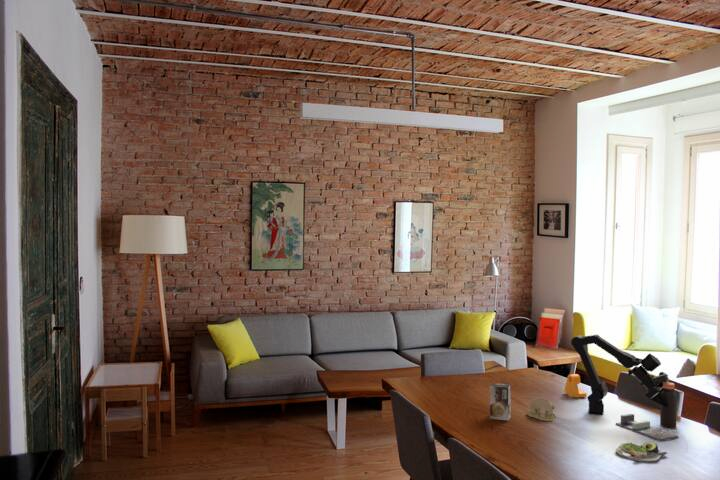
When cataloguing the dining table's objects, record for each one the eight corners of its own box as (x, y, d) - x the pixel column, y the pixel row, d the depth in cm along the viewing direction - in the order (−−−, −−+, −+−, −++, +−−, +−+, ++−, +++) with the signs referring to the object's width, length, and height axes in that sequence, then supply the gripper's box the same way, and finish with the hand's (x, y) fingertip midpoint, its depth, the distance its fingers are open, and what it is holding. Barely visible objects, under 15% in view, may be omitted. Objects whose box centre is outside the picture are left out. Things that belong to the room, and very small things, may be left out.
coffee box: (511, 417, 295) (511, 384, 295) (508, 421, 289) (508, 387, 289) (492, 414, 299) (492, 382, 299) (489, 418, 293) (489, 385, 293)
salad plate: (656, 469, 233) (656, 457, 233) (608, 457, 244) (608, 446, 244) (669, 455, 248) (669, 443, 248) (623, 445, 259) (623, 434, 259)
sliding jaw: (619, 423, 285) (619, 415, 285) (633, 420, 289) (633, 413, 288) (635, 429, 276) (635, 421, 276) (649, 426, 280) (650, 419, 280)
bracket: (587, 398, 331) (587, 376, 330) (575, 398, 329) (575, 376, 329) (576, 393, 341) (576, 371, 341) (564, 393, 340) (564, 372, 339)
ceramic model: (559, 417, 296) (560, 397, 296) (550, 422, 288) (550, 401, 288) (532, 411, 306) (533, 391, 305) (522, 416, 297) (522, 396, 297)
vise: (615, 424, 285) (615, 417, 285) (632, 421, 290) (633, 415, 290) (660, 441, 263) (660, 433, 263) (678, 437, 267) (678, 430, 267)
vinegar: (675, 424, 286) (675, 382, 286) (677, 428, 280) (678, 385, 279) (659, 422, 288) (659, 381, 288) (661, 427, 282) (661, 384, 282)
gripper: (653, 370, 279) (679, 398, 273) (661, 363, 294) (686, 390, 287) (634, 385, 284) (660, 413, 277) (643, 377, 299) (668, 403, 292)
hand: (669, 404), depth 284 cm, fingers open, 9 cm apart
